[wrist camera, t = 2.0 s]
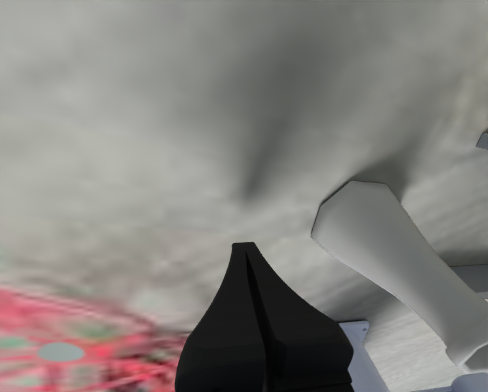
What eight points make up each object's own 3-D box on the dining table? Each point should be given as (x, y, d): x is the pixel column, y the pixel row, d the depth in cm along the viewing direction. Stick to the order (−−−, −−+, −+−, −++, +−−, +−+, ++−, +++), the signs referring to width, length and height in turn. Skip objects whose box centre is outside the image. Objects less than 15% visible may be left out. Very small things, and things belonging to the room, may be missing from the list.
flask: (414, 199, 17) (633, 314, 8) (358, 263, 19) (477, 406, 10) (347, 163, 15) (537, 264, 6) (294, 240, 17) (373, 391, 9)
